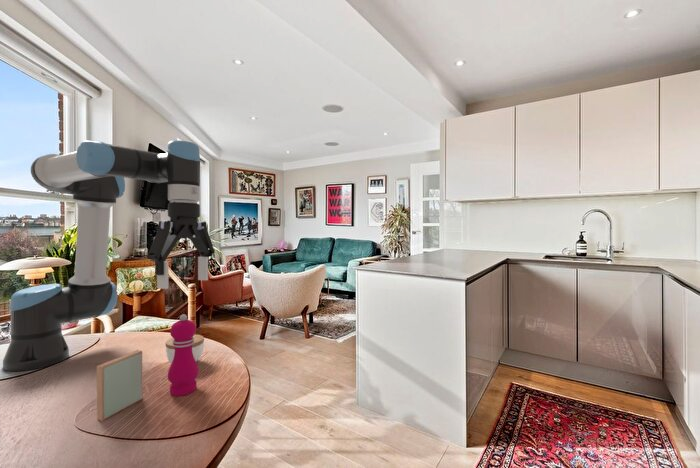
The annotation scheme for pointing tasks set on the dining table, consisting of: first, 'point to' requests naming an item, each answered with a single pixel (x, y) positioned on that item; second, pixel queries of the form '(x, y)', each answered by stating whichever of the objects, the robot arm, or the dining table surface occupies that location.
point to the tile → (119, 384)
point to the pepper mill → (183, 358)
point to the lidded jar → (196, 348)
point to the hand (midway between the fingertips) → (184, 284)
